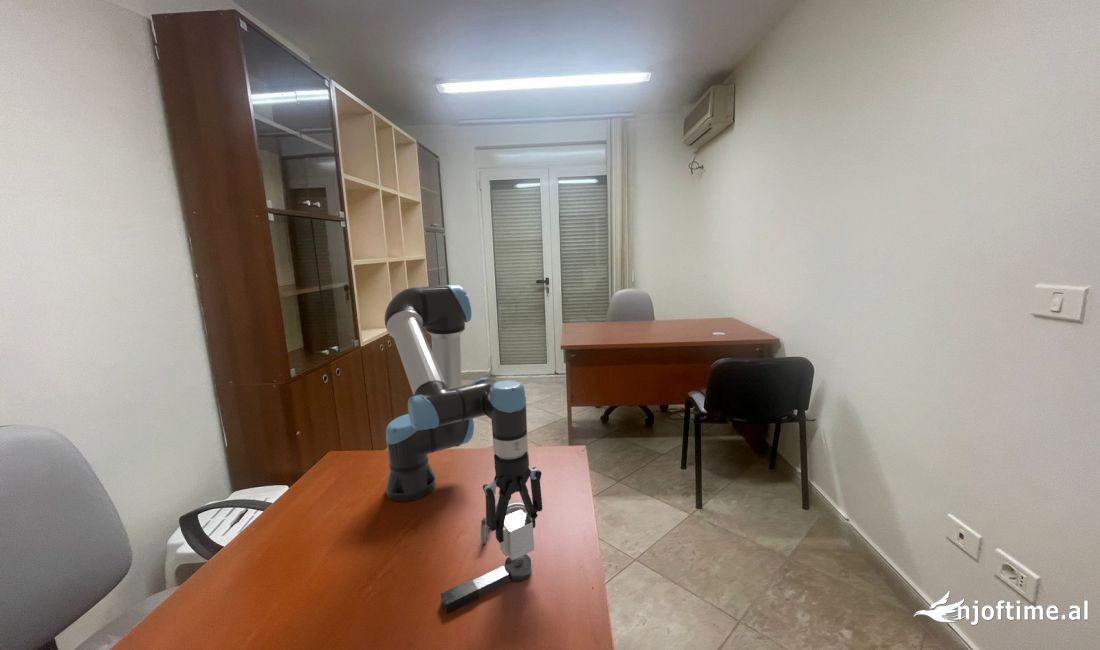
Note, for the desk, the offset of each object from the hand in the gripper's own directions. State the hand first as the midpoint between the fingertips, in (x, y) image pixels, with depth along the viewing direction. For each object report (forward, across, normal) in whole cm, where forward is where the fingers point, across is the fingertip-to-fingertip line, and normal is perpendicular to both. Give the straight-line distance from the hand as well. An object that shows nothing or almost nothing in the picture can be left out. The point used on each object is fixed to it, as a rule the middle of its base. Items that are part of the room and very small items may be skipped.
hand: (517, 546), depth 93 cm
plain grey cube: (0, 0, 0) cm, 0 cm away
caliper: (+7, +3, +21) cm, 23 cm away
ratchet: (+7, -7, 0) cm, 10 cm away
